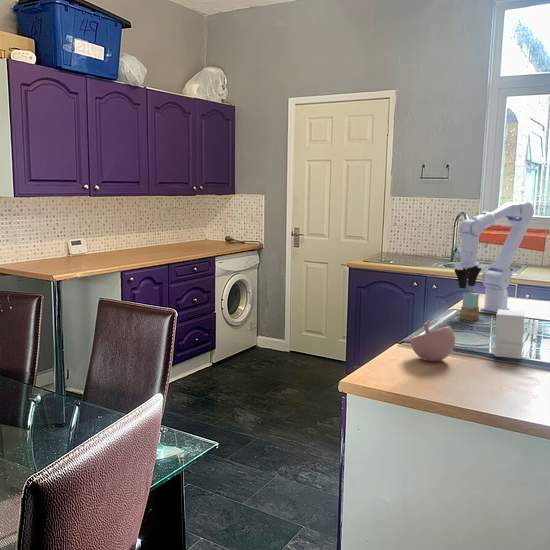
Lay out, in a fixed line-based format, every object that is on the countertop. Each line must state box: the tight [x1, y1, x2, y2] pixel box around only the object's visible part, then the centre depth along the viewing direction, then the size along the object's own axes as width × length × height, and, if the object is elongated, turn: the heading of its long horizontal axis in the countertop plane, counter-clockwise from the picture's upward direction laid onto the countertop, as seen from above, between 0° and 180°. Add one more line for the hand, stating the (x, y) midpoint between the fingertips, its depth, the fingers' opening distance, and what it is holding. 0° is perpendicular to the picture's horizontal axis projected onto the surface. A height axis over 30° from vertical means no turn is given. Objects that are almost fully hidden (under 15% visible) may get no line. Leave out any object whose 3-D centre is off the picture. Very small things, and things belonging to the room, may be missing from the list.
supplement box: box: [494, 309, 525, 360], centre depth 163 cm, size 7×7×13 cm
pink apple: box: [409, 319, 456, 362], centre depth 157 cm, size 12×12×12 cm
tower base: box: [459, 312, 480, 322], centre depth 207 cm, size 5×5×2 cm
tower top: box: [460, 305, 480, 316], centre depth 207 cm, size 5×5×2 cm
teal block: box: [462, 291, 480, 309], centre depth 206 cm, size 4×4×5 cm
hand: (466, 286), depth 215 cm, fingers open, 7 cm apart
